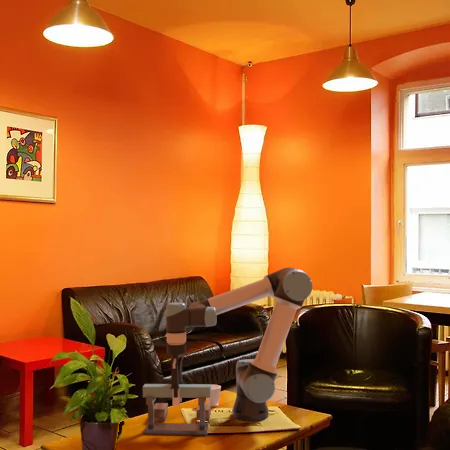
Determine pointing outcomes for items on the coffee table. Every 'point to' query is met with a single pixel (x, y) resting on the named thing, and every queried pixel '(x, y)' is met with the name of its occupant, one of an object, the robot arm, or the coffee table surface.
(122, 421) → the controller
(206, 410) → the rest blocks
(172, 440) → the coffee table surface
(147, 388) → the rail
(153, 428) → the stand
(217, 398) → the cup
